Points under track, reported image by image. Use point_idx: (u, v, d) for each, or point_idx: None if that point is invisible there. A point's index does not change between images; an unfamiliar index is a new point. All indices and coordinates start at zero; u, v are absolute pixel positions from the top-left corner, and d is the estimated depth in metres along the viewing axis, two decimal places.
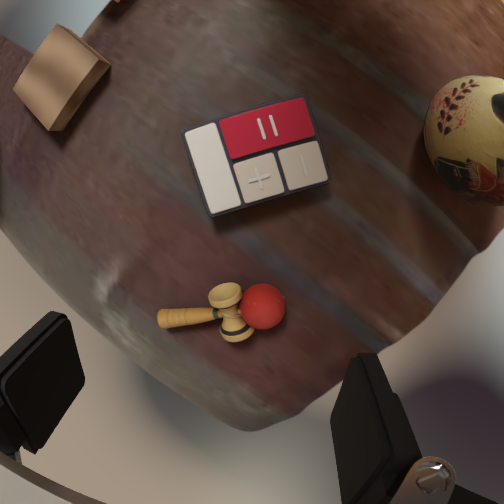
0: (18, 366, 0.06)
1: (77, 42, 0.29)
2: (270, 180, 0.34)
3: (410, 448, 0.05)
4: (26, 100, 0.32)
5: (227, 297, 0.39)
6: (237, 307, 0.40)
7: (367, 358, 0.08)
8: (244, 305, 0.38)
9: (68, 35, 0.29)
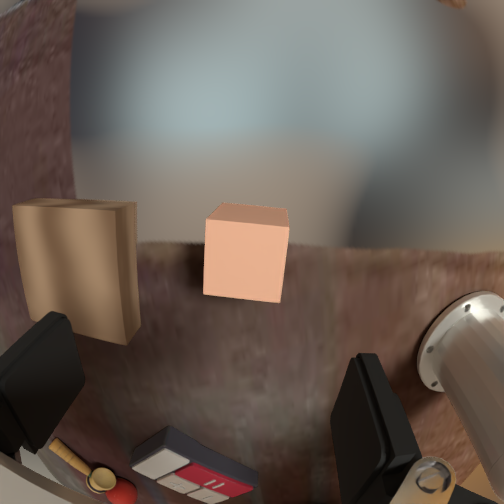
0: (18, 366, 0.06)
1: (118, 291, 0.23)
2: (182, 489, 0.34)
3: (410, 448, 0.05)
4: (20, 253, 0.23)
5: (104, 481, 0.37)
6: None
7: (367, 358, 0.08)
8: (111, 493, 0.36)
9: (115, 262, 0.23)
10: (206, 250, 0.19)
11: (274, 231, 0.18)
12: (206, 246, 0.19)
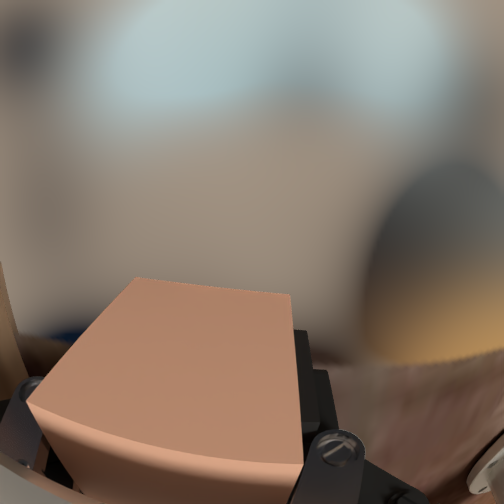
0: None
1: None
2: None
3: (315, 416, 0.06)
4: None
5: None
6: None
7: (295, 333, 0.09)
8: None
9: None
10: (62, 459, 0.05)
11: (247, 471, 0.04)
12: (58, 453, 0.05)
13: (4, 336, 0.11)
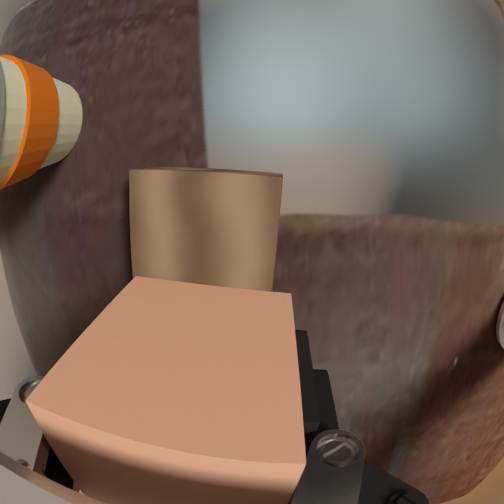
0: None
1: (272, 263, 0.24)
2: None
3: (315, 417, 0.06)
4: (135, 226, 0.24)
5: None
6: None
7: (295, 333, 0.09)
8: None
9: (274, 231, 0.23)
10: (62, 459, 0.05)
11: (249, 471, 0.04)
12: (57, 453, 0.05)
13: None
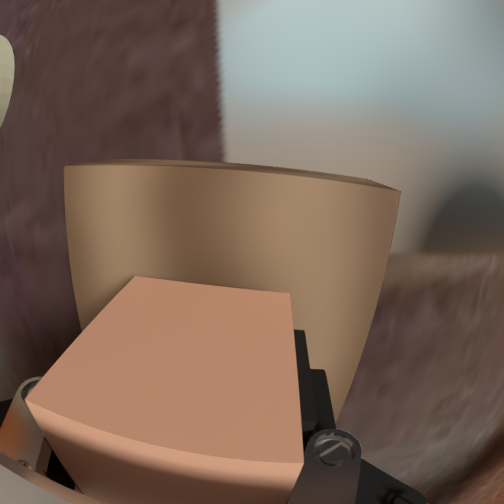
0: None
1: (356, 356, 0.12)
2: None
3: (312, 416, 0.06)
4: (82, 281, 0.11)
5: None
6: None
7: None
8: None
9: (371, 301, 0.11)
10: (61, 458, 0.05)
11: (246, 470, 0.04)
12: (57, 452, 0.05)
13: None
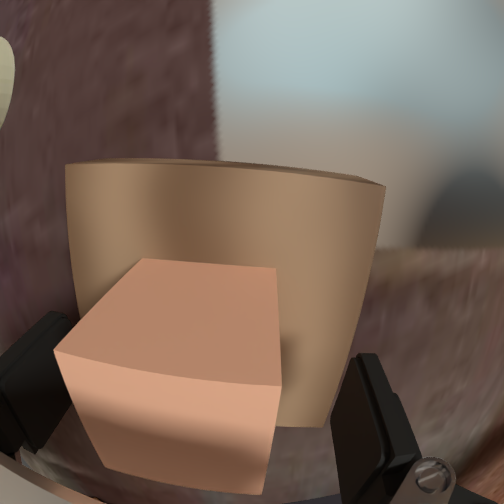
0: (18, 366, 0.06)
1: (346, 347, 0.12)
2: None
3: (410, 448, 0.05)
4: (82, 274, 0.12)
5: None
6: None
7: (367, 358, 0.08)
8: None
9: (359, 293, 0.11)
10: (79, 409, 0.06)
11: (237, 395, 0.06)
12: (76, 403, 0.06)
13: None
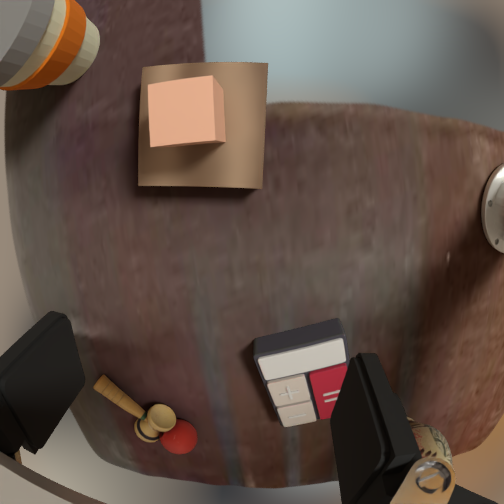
0: (18, 366, 0.06)
1: (263, 130, 0.27)
2: (286, 399, 0.37)
3: (410, 448, 0.05)
4: (144, 110, 0.26)
5: (162, 420, 0.39)
6: None
7: (367, 358, 0.08)
8: (170, 435, 0.39)
9: (263, 103, 0.26)
10: (149, 108, 0.21)
11: (201, 80, 0.20)
12: (149, 105, 0.21)
13: None
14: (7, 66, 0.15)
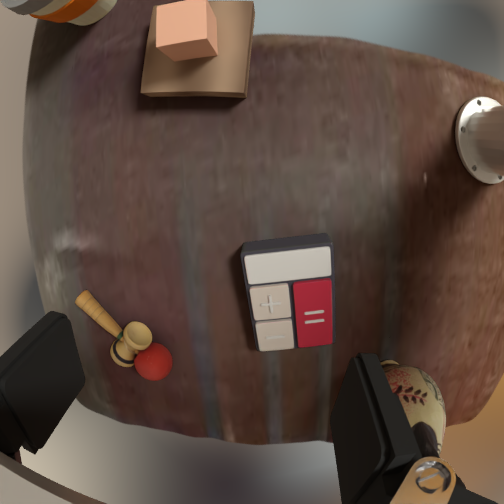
0: (18, 366, 0.06)
1: (246, 48, 0.29)
2: (266, 311, 0.39)
3: (410, 448, 0.05)
4: (152, 36, 0.28)
5: (137, 338, 0.42)
6: None
7: (367, 358, 0.08)
8: (143, 355, 0.41)
9: (248, 29, 0.28)
10: (157, 21, 0.23)
11: (197, 0, 0.22)
12: (157, 19, 0.23)
13: (252, 33, 0.30)
14: None
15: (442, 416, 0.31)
